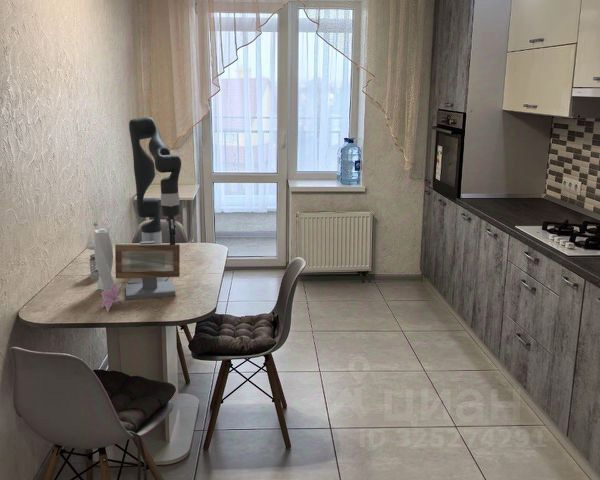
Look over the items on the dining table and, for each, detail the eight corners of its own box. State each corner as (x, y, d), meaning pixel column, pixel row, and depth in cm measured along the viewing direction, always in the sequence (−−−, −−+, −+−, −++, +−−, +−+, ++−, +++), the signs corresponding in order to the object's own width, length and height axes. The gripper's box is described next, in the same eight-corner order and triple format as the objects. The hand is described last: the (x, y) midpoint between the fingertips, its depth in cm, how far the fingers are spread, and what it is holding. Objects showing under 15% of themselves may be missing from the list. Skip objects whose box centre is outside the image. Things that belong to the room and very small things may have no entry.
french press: (86, 274, 298) (82, 222, 292) (112, 271, 303) (108, 219, 298) (90, 279, 290) (85, 226, 284) (116, 276, 295) (112, 223, 289)
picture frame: (115, 277, 266) (115, 244, 263) (179, 275, 273) (179, 243, 270) (115, 278, 264) (115, 245, 261) (179, 276, 271) (179, 244, 268)
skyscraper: (119, 288, 277) (115, 225, 271) (106, 292, 271) (101, 228, 265) (107, 285, 282) (102, 223, 275) (93, 289, 276) (88, 226, 269)
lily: (103, 304, 260) (92, 288, 254) (130, 292, 261) (119, 275, 255) (106, 322, 250) (94, 305, 244) (134, 309, 251) (123, 292, 246)
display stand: (126, 288, 278) (122, 239, 273) (172, 284, 283) (170, 236, 278) (126, 299, 263) (122, 248, 258) (175, 295, 268) (172, 245, 263)
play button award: (173, 270, 301) (163, 282, 282) (173, 273, 301) (163, 286, 282) (139, 270, 301) (127, 282, 282) (139, 273, 302) (127, 286, 282)
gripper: (160, 201, 269) (162, 241, 273) (161, 206, 257) (164, 248, 261) (178, 200, 271) (180, 240, 275) (180, 205, 259) (182, 247, 263)
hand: (172, 244), depth 268 cm, fingers closed
